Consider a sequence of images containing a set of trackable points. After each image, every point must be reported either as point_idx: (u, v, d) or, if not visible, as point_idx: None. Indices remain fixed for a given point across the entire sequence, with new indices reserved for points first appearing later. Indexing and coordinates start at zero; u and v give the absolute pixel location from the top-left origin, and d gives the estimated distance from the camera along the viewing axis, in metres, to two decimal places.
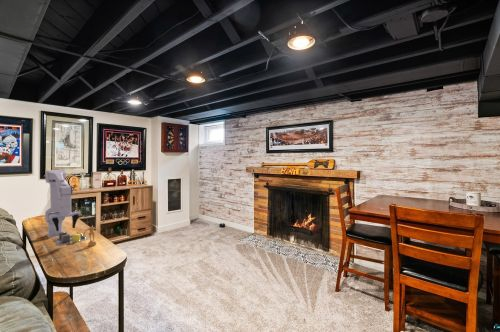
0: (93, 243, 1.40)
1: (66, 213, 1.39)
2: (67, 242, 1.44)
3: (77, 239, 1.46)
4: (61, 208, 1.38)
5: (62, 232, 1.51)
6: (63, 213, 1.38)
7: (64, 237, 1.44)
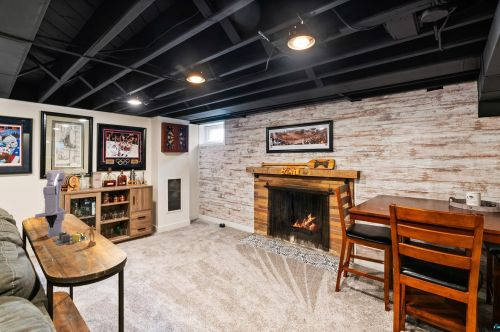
0: (93, 243, 1.40)
1: (51, 212, 1.44)
2: (67, 242, 1.44)
3: (77, 239, 1.46)
4: (46, 207, 1.43)
5: (62, 232, 1.51)
6: (48, 212, 1.44)
7: (64, 237, 1.44)
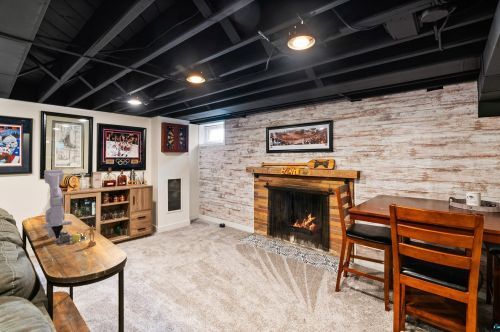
0: (93, 243, 1.40)
1: (57, 223, 1.47)
2: (67, 242, 1.44)
3: (77, 239, 1.46)
4: (53, 218, 1.46)
5: (63, 232, 1.51)
6: (54, 223, 1.46)
7: (64, 237, 1.44)
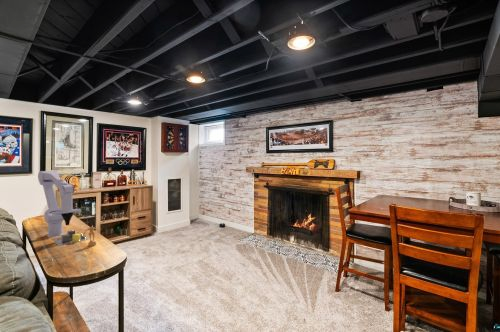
0: (93, 243, 1.40)
1: (68, 210, 1.50)
2: (67, 242, 1.44)
3: (77, 239, 1.46)
4: (63, 205, 1.49)
5: (71, 230, 1.55)
6: (65, 210, 1.49)
7: (64, 237, 1.44)
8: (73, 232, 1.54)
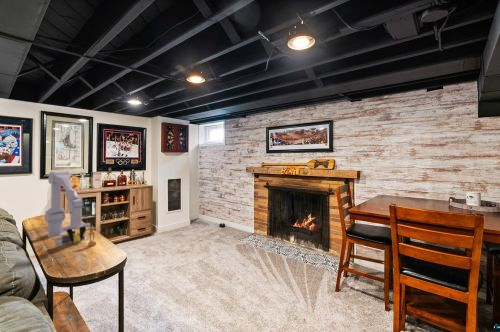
0: (93, 243, 1.40)
1: (77, 225, 1.45)
2: (67, 242, 1.44)
3: (77, 239, 1.46)
4: (72, 220, 1.44)
5: None
6: (74, 225, 1.44)
7: (64, 237, 1.44)
8: (73, 232, 1.54)
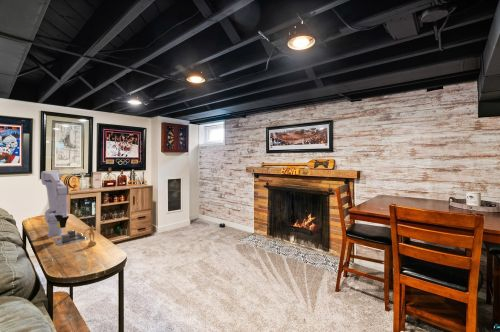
0: (93, 243, 1.40)
1: (56, 211, 1.48)
2: (67, 242, 1.44)
3: (58, 225, 1.49)
4: None
5: (71, 230, 1.55)
6: None
7: (64, 237, 1.44)
8: (73, 232, 1.54)
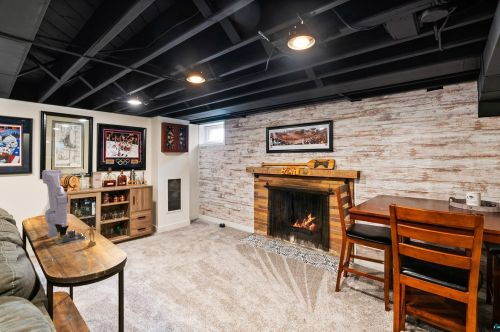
0: (93, 243, 1.40)
1: (55, 221, 1.48)
2: (67, 242, 1.44)
3: None
4: None
5: (71, 230, 1.55)
6: None
7: (64, 237, 1.44)
8: (73, 232, 1.54)
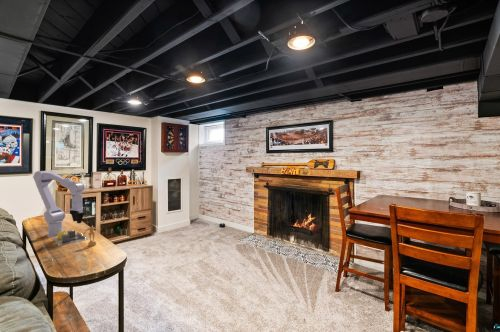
0: (93, 243, 1.40)
1: None
2: (67, 242, 1.44)
3: None
4: None
5: (71, 230, 1.55)
6: None
7: (64, 237, 1.44)
8: (73, 232, 1.54)
